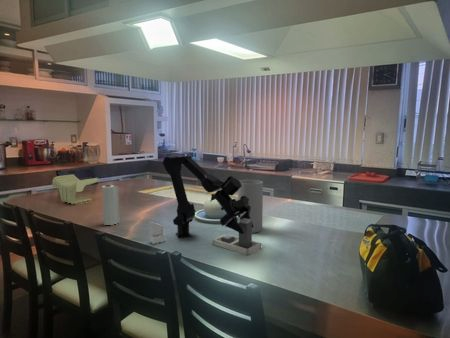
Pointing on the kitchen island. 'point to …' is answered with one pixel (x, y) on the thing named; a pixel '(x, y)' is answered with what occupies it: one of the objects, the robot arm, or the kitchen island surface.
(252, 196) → the cylinder vase
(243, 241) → the iec plug
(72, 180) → the pale green plastic piece
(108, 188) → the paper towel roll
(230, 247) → the beige divided rectangular frame
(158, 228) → the white angled block
